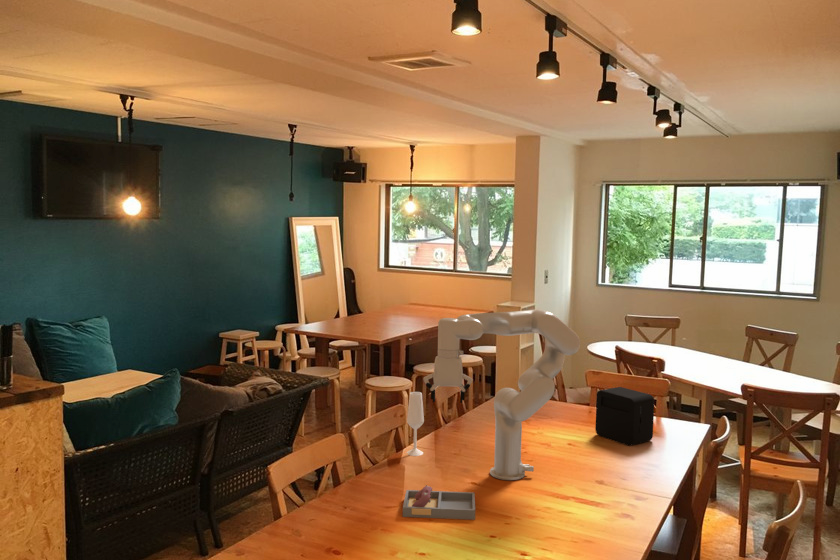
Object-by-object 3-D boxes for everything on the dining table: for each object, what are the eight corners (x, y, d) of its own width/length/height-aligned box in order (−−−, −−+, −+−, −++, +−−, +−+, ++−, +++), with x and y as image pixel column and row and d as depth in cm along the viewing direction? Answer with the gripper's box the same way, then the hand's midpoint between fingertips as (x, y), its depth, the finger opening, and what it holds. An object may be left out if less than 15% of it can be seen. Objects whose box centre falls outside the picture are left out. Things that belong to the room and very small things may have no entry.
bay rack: (474, 501, 231) (474, 492, 231) (475, 520, 217) (475, 510, 217) (406, 498, 233) (406, 489, 232) (402, 517, 218) (402, 507, 218)
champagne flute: (411, 456, 274) (412, 396, 272) (403, 451, 280) (404, 392, 278) (426, 454, 277) (427, 394, 275) (418, 449, 283) (419, 390, 281)
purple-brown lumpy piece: (423, 516, 220) (433, 497, 219) (410, 509, 221) (420, 490, 220) (426, 503, 230) (436, 485, 229) (413, 497, 230) (423, 478, 229)
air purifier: (655, 441, 298) (657, 395, 296) (632, 447, 290) (634, 399, 288) (617, 429, 314) (619, 385, 313) (594, 434, 306) (596, 389, 304)
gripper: (473, 352, 249) (472, 399, 251) (424, 351, 250) (423, 398, 252) (473, 356, 242) (472, 405, 243) (423, 355, 243) (422, 403, 244)
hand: (447, 401), depth 247 cm, fingers open, 9 cm apart
